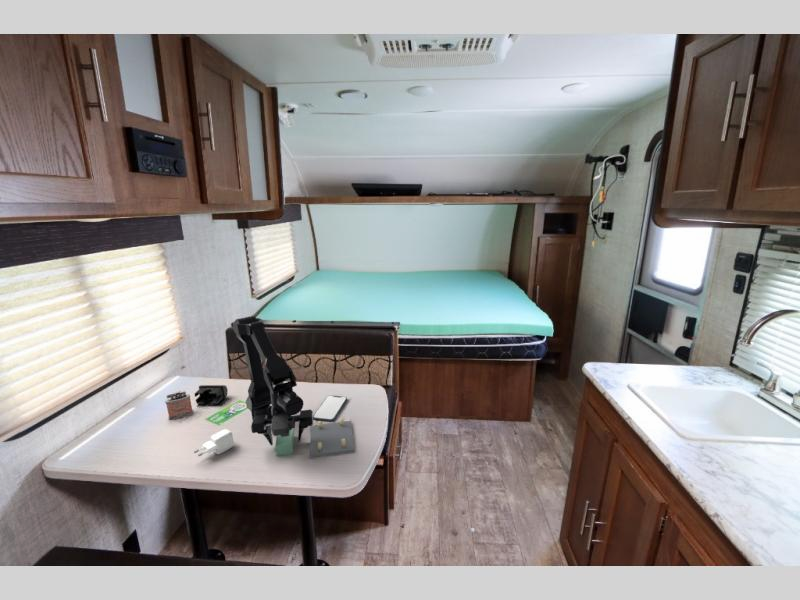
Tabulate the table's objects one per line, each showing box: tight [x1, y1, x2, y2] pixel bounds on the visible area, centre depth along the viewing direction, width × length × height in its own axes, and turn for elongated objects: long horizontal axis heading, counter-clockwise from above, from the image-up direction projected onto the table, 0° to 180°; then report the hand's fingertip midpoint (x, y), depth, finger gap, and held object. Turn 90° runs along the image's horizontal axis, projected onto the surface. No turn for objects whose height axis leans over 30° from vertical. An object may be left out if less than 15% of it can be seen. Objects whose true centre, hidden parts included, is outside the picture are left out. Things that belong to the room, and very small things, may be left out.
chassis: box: [309, 417, 355, 459], centre depth 124 cm, size 14×16×4 cm
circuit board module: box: [274, 428, 295, 457], centre depth 121 cm, size 5×9×4 cm, turn 12°
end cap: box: [194, 384, 228, 407], centre depth 147 cm, size 10×7×7 cm
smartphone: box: [313, 394, 348, 423], centre depth 142 cm, size 9×2×16 cm
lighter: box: [164, 390, 194, 421], centre depth 138 cm, size 8×3×10 cm, turn 123°
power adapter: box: [193, 428, 235, 457], centre depth 117 cm, size 11×5×6 cm, turn 143°
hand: (285, 443), depth 121 cm, fingers open, 8 cm apart
